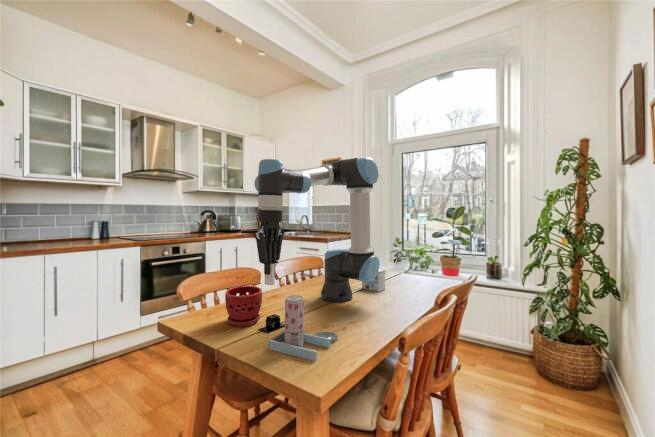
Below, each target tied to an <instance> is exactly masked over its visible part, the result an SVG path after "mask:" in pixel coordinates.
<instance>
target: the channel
mask: <svg viewBox="0 0 655 437" xmlns="http://www.w3.org/2000/svg"><path fill="white" fill-rule="evenodd" d="M267 343H268V344H267V345H268V346H267V348H268V350H271V351H274V352H278V353H283V354H286V355H290V356H294V357H298V358H302V359H306V360H309V361H314V362H316V361H317V360H318V351H317V350H315V349H311V348H306V347H304V346H303V347H299V346H294V345H290V344H286V343H285V329H284V330H283V331H281V332H280V333H278V334H277V335H275V336H273V337H272V338H270V339H268V341H267ZM303 343H306V344H310V345H315V346H320V347H323V348H327V349H329V348H330V349H331V343H330V339H329V338H325V337H320V336H315V335H314V334H310V333H305V332H303Z"/></svg>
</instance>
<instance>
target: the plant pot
mask: <svg viewBox="0 0 655 437" xmlns="http://www.w3.org/2000/svg"><path fill="white" fill-rule="evenodd" d="M247 293H248V294H247ZM224 294H225V295H224V296H225V297H224V298H225V300H224V301H225V308H226V311H227V312H226V313H227V314H228V317H227V321H228V323H229V324H230V325H232V326H236V327H246V326H251V325H255V323H257V322H258V321H259V320H260V318H261V315H260V313H259V312H260V311H261V308H262V303H263V301H262V300H263V289H262V288H261V287H258V286H256V285H255V286H254V285H241V286H235V287H232V288H229V289H227V290H226V291H225V292H224ZM237 294H239V295H237Z"/></svg>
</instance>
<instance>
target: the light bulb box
mask: <svg viewBox="0 0 655 437" xmlns="http://www.w3.org/2000/svg"><path fill="white" fill-rule="evenodd" d="M361 289H364V290H370V291H373V292H377V293H378V292H383V291H384V290H386V269H383V268H379V271H378V273H377V275H376V277H375V278H374V279H373V280H372V281H369V282H366V281H361Z"/></svg>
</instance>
